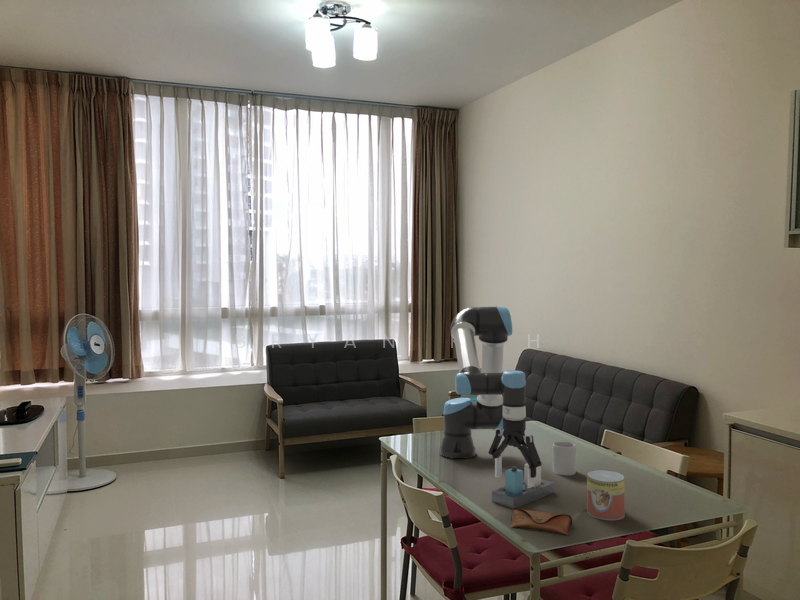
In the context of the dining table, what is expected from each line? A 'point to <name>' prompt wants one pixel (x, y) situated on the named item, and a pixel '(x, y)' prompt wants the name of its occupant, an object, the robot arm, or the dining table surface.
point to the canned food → (605, 494)
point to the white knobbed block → (536, 479)
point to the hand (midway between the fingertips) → (514, 481)
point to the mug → (564, 458)
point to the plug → (514, 480)
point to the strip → (522, 494)
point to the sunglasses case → (541, 521)
